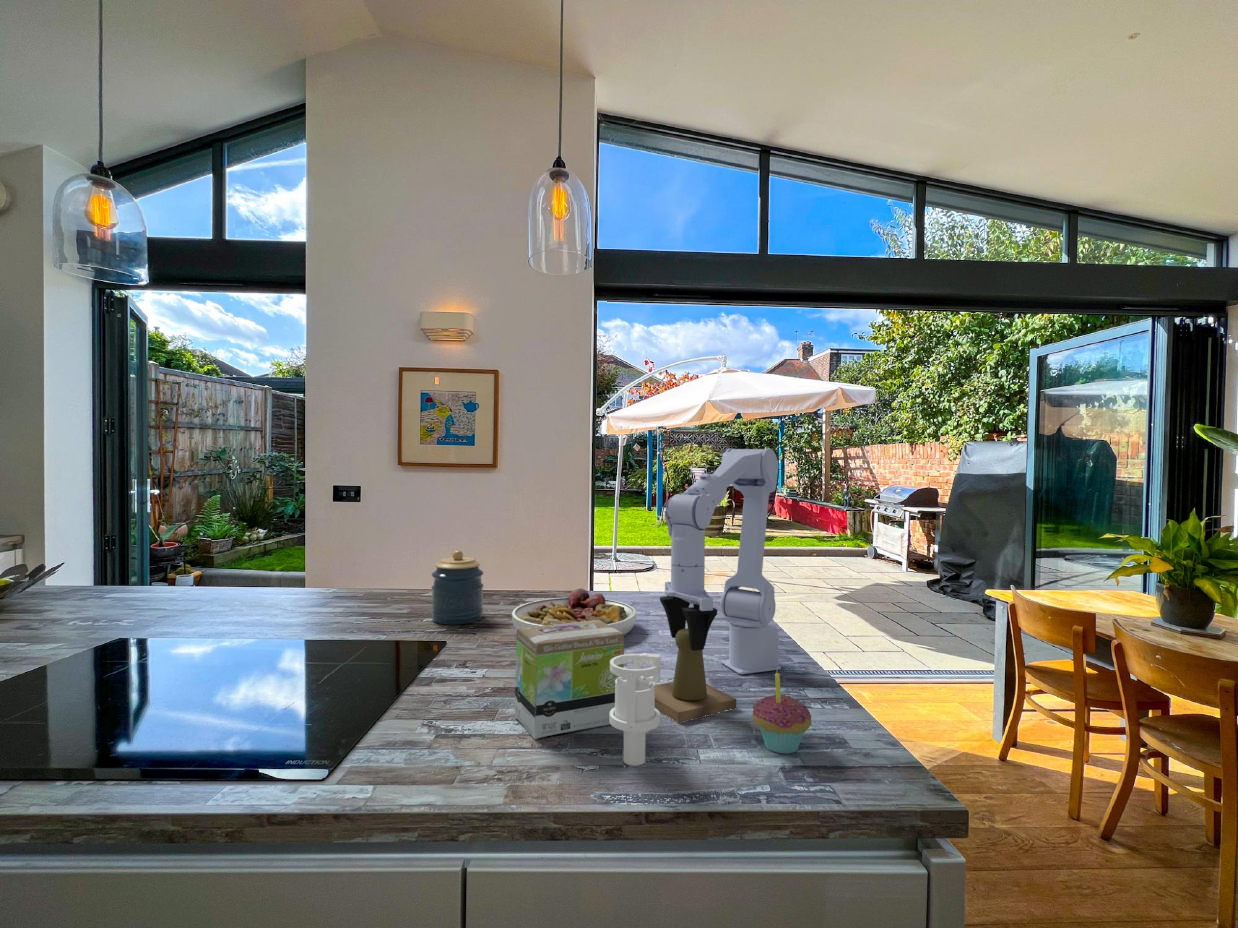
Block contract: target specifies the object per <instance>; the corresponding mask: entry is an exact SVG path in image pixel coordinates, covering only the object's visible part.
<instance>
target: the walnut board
mask: <svg viewBox="0 0 1238 928" xmlns="http://www.w3.org/2000/svg"><path fill="white" fill-rule="evenodd" d="M651 687H652V685H651V686H650V685H649V688H651ZM672 688H673V681H670V682H665V683H659V684H655V708H656V709H657V710H658V711H660V714H662V713H663V714H662V715H664V716H665V715H667V716H668V717H667V716H666V717H667V718H669V717H670V718H671V720H672V719H673V720H674V721H673V720H672V721H673V722H675V723H676V722H677V723H676V724H681V723H680V722H682V723H685V722H684V721H686V722H688V721H687V720H690V721H692V720H691V719H694V720H696V719H695V718H698V719H700V718H699V717H702V718H704V717H703V716H705V715H706V717H708V716H707V715H710V716H712V715H711V714H714V715H717V714H716V713H718V712H722V713H724V712H723V711H725V710H730V709H734V710H736V709H737V698H736V697H733V696H731V695H729V694H728V693H726V692H723V691H722V690H720V689H717V688H715V687H714V686H712V685H709V684H708V683H706V689H707V697H706V698H704V699H701V700H684V699H679V698H677V697H674V696H673V695H672ZM735 708H736V709H735ZM730 711H731V710H730ZM718 714H719V713H718ZM670 718H669V719H670Z"/></svg>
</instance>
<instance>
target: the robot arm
mask: <svg viewBox="0 0 1238 928" xmlns="http://www.w3.org/2000/svg"><path fill="white" fill-rule="evenodd" d="M778 472H779V461H778V458H777V454H776V453H775V451H774V450H773V449H772V448H770V447H769V448H761V449H760V448H759V449H758V448H757V449H756V448H753V449H751V448H748V449H747V448H736V449H735V448H727V449H726V450H725V452H723V453H722V456H721V464H720V465H719V466H718V467H717V468H716V470H715V471H714V472H713V473H702V474H700V475H699V478H698V479H697V480H696V481H695V482H694V483H693V484H692V485H690V486H689V487H688V488H687V490H685V491H684V492H683V493H682V494H681V493H677V494H674V495H673V496H671V497H670V498H669V499H668V500H667V503H666V505H665V510H664V518H665V519H664V520H665V522H666V524H667V532H668V537H670V538H671V539H670V541H671V544H670V545H671V547H670V549H671V550H670V552H671V553H670V554H671V555H670V559H671V560H670V568H671V569H670V581H665V582H664V595H665V596H660V597H659V602H660V603H661V605H662V607H663V609H664V612H665V615H666V618H667V623H668V628H669V632H670V636H671V638H672V639H675V637H676V634H677V632H678V631H679V630H681V629H686V625H687V628H688V631H689V642H690V647H691V650H693V651H696V650H702V651H704V649H705V647H706V643H705V642H706V641H707V638H708V634H709V631H710V628H711V625H712V623H713V621H714V619H716V617H717V615H718V609H717V608H715V607H714V598H712V597H711V596H710V595H709V594H708V592H707V590H706V589H705V568H706V567H705V562H706V561H705V560H706V559H705V557H706V556H705V555H706V553H705V552H706V551H705V549H706V548H705V547H706V546H705V545H706V528H708V527H709V526H710V525H711V521H712V517H713V514H714V513H715V509H716V508H717V506H719V505H720V504H721V503H722V502H723V501H724V499H725V498H726V497H727V492H728V491H727V490H728V489H727V488H729V487H730V486H731V485H732V487H733V488H734V489H735V490H737V491H739V492H741V494H742V495H743V505H742V515H741V517H742V518H741V527H740V538H739V546H738V547H739V549H738V556H737V557H738V558H737V570H736V573H735V574H734V575H731V577H729V578H727V579H726V580H725V583H724V588H723V592H722V594H721V596H720V607H719V608H720V611H721V614H722V615H723V617H725V618H726V619H725V620H726V623H729V624H728V625H729V636H728V637H729V639H728V645H729V647H728V649H729V650H728V652H729V653H728V656H729V657H728V659H727V658H726V659H725V658H724V659H720V663H721V664H722V665H725V666H726V667H727V668H729V669H731V671H734V672H736V673H737V674H738V675H746V674H747V675H748V674H755V673H756V674H757V673H763V672H770V671H776V669H778V671H779V670H781V668H782V666H780V663H779V661H780V660H779V658H780V656H779V655H780V654H779V651H780V649H779V648H780V636H779V635H780V634H779V631H778V629H777V627H776V625H775V624H774V623H773V622H772V621H773V619H774V618H775V615H776V614H775V613H776V608H777V607H776V599H775V598H776V597H775V587H774V585H773V584H772V583H771V582H770V581H769V580H768V579H766V577H765V576H764V575H763V568H764V567H763V566H764V556H765V555H764V553H765V544H766V543H765V542H766V533H767V532H766V531H767V522H768V521H767V520H768V511H769V510H768V509H769V499H770V494H771V493H773V492H775V491H776V488H777V484H778V474H779V473H778ZM743 588H747V589H743ZM750 589H752V590H750ZM753 589H754V590H753ZM690 604H691V605H693V606H692V607H690V606H691V605H690ZM704 646H705V647H704Z"/></svg>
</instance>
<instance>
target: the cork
mask: <svg viewBox="0 0 1238 928" xmlns="http://www.w3.org/2000/svg"><path fill="white" fill-rule="evenodd" d="M674 639H675V640H674V641H675V645H676V646H677V648H678V649H677V650H678V651H677V655H676V656H677V657H676V662H675V669H674V674H673V675H674V676H673V681H672V682H673V688H672V695H673V696H674V697H677V698H679V699H684V700H701V699H704V698H706V697H707V689H706V684H707V683H706V680H707V679H706V671H705V663H704V654H703V653H704V652H703V650H696V651H693V650H691V647H690V642H689V631H688V627H687V628H686V627H685V629H681V630H679V631H678V632H677V634H676V637H675V638H674ZM705 644H707V643H706V642H705ZM705 647H706V645H705V646H704V648H705Z"/></svg>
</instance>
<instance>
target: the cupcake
mask: <svg viewBox="0 0 1238 928" xmlns="http://www.w3.org/2000/svg"><path fill="white" fill-rule="evenodd" d="M775 671H776V673H775V674H774V678H775V680H774V681H775V684H774V685H775V694H774V695H770V696H766V697H765V696H764V697H763V698H760V700H758V701H757V702H756V703H755V704H753V707H752V719H753V722H754V724H755V725H756V727H758V728H759V730H760V733H761V736H762V739H763V742H764V745H765V748H766V749H768V750H769V751H771V752H775V753H778V754H794V753H796V752H797V751H798V749H799V747H800V744H801V741H802V738H803V735H804V734H805V733H806V731H808V729H809V728H810V726H812V714H811V713H810V711H809V709H808V707H807V706H806V705H805V704H803V703H801V702H800V701H799V700H797V699H796V698H793V697H791V696H789V695H788V696H787V695H785V694H782V693H781V679H780V678H781V676H780V675H781V673H780V672H779V670H778V669H776V670H775Z"/></svg>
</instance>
